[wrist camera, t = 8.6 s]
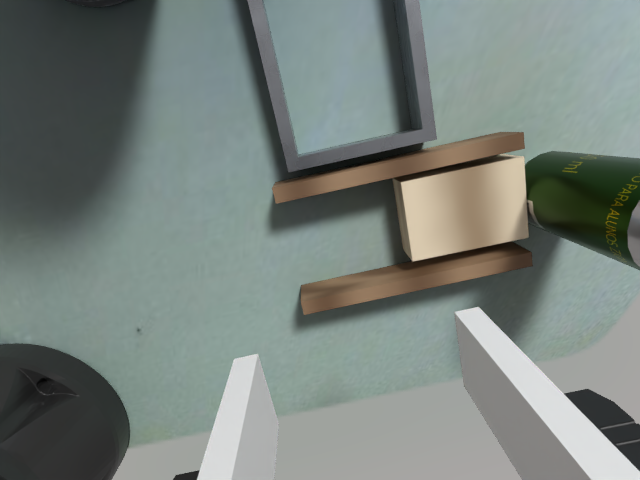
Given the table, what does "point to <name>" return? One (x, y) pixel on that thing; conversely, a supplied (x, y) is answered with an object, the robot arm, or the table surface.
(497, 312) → the table surface
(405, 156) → the beam
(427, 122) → the frame
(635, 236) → the beer can
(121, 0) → the canister
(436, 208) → the block
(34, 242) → the table surface
